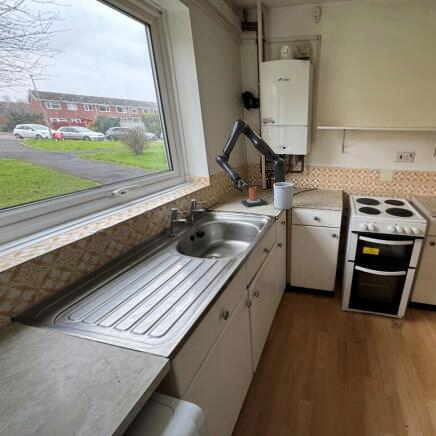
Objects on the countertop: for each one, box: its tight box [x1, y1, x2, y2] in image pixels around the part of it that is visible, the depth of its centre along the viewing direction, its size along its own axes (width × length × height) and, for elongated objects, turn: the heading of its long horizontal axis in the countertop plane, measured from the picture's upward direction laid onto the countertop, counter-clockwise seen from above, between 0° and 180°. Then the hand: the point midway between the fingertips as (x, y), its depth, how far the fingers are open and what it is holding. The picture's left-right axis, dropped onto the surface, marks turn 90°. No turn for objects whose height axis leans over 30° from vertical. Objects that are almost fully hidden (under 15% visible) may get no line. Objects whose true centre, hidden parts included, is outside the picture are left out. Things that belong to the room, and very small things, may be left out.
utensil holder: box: [272, 181, 294, 211], centre depth 172 cm, size 15×15×18 cm
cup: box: [248, 186, 258, 201], centre depth 182 cm, size 6×6×10 cm
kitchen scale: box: [241, 197, 268, 208], centre depth 184 cm, size 16×14×3 cm
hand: (245, 190), depth 185 cm, fingers open, 8 cm apart
